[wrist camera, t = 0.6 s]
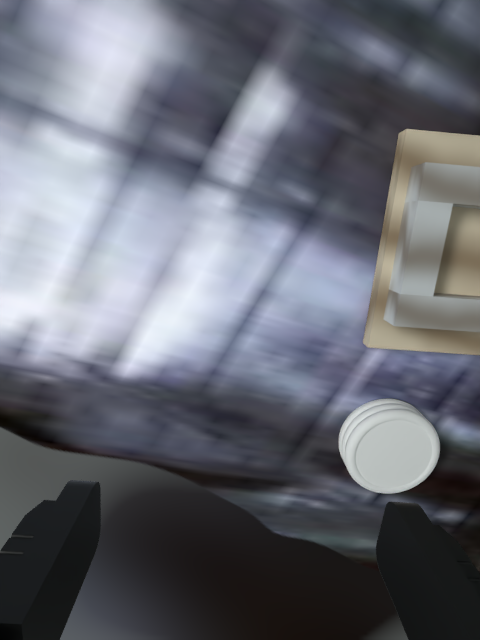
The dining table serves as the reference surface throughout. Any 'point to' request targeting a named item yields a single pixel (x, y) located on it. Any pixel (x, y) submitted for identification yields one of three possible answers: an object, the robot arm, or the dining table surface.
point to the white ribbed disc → (388, 446)
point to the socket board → (453, 250)
